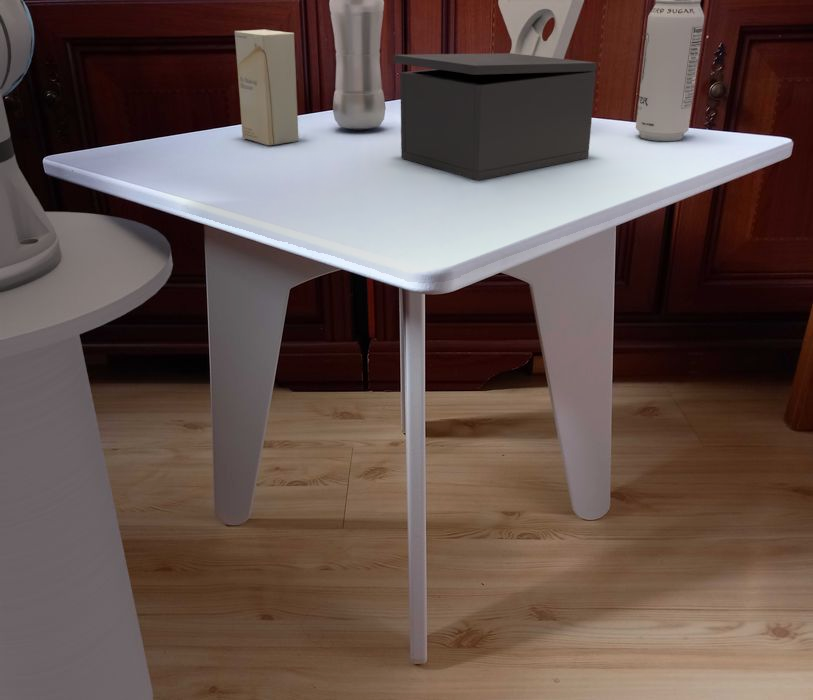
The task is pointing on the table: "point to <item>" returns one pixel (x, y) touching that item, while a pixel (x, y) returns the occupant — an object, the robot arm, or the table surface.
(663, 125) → the energy drink can
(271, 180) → the table surface
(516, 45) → the phone holder
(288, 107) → the cosmetic box
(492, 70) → the box lid
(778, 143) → the table surface
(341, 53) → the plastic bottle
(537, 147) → the open lidded box
